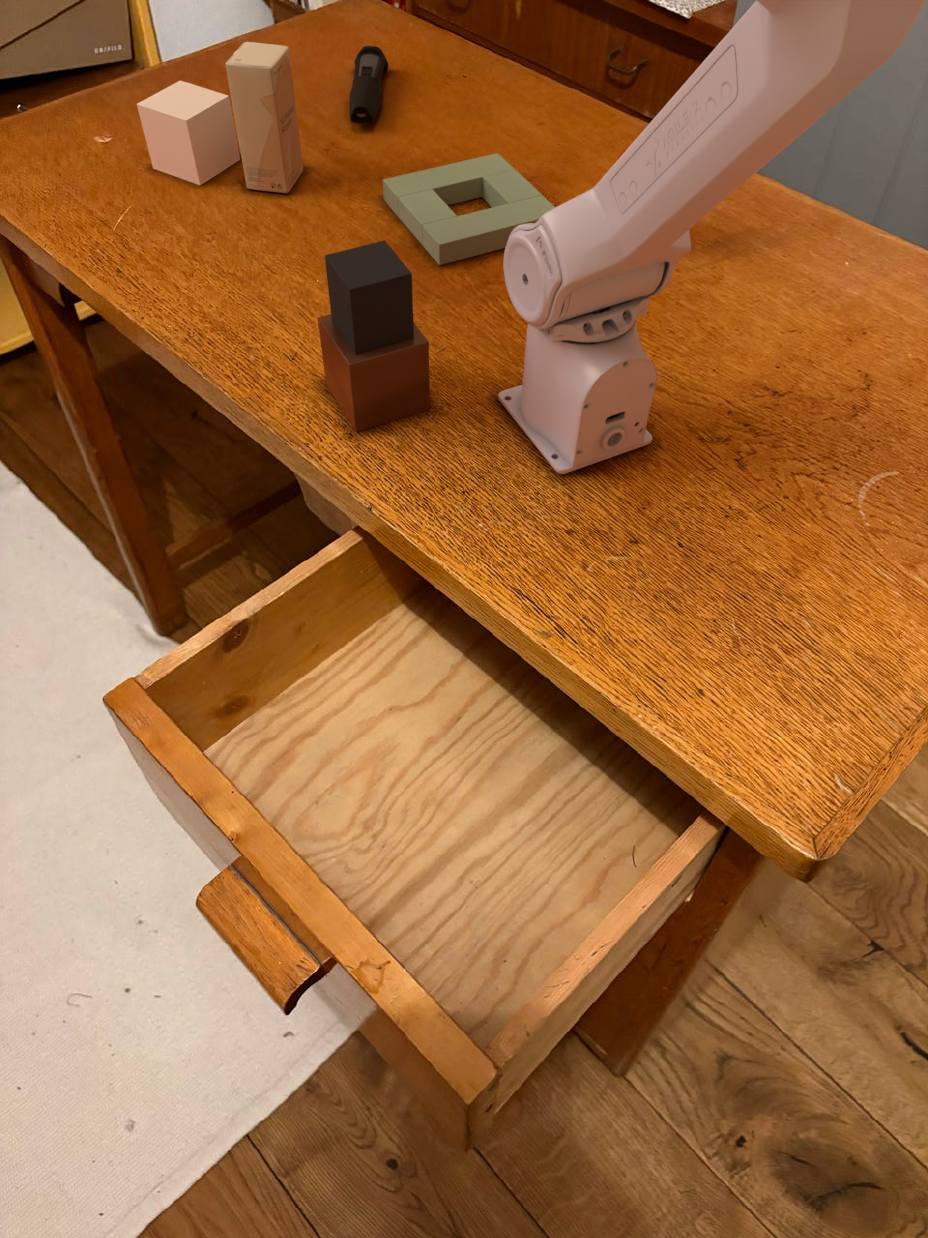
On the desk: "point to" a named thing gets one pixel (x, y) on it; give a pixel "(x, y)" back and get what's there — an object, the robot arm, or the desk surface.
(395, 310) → the black block
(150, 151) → the pale pink cube
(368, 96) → the electric trimmer
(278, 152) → the box
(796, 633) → the desk surface
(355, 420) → the cube
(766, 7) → the robot arm
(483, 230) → the square frame
